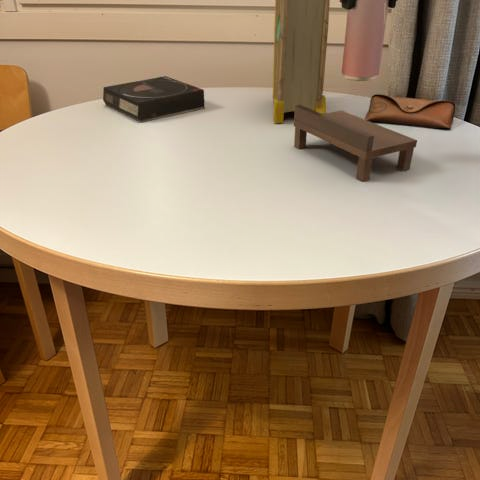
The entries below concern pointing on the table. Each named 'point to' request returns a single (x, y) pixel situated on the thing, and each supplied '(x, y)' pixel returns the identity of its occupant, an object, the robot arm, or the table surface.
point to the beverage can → (364, 39)
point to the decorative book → (299, 55)
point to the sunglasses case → (411, 111)
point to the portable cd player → (154, 98)
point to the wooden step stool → (353, 137)
